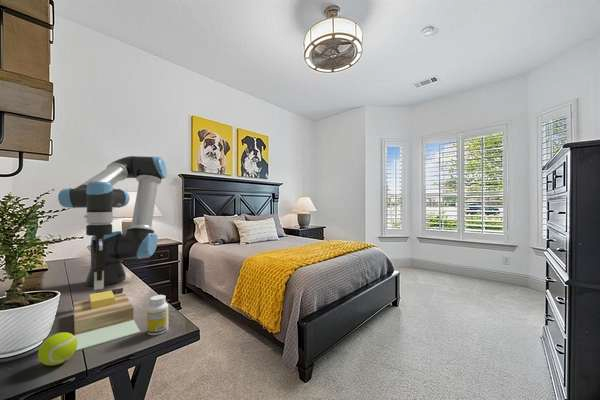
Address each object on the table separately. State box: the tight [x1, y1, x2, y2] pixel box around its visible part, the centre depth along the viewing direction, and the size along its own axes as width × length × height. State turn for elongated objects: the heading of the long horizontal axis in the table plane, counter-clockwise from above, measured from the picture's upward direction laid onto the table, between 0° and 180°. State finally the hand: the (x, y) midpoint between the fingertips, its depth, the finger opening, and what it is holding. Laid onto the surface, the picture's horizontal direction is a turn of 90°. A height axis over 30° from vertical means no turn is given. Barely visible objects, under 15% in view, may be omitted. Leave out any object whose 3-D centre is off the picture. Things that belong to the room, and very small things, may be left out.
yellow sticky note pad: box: [89, 289, 115, 309], centre depth 86 cm, size 9×6×2 cm, turn 42°
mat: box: [74, 319, 141, 352], centre depth 73 cm, size 10×14×1 cm
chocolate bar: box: [95, 287, 124, 295], centre depth 101 cm, size 9×1×18 cm
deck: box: [73, 292, 134, 336], centre depth 84 cm, size 18×14×4 cm
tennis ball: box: [37, 331, 78, 367], centre depth 60 cm, size 7×7×7 cm
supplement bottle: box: [146, 294, 170, 336], centre depth 75 cm, size 5×5×10 cm
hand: (98, 288), depth 94 cm, fingers closed
